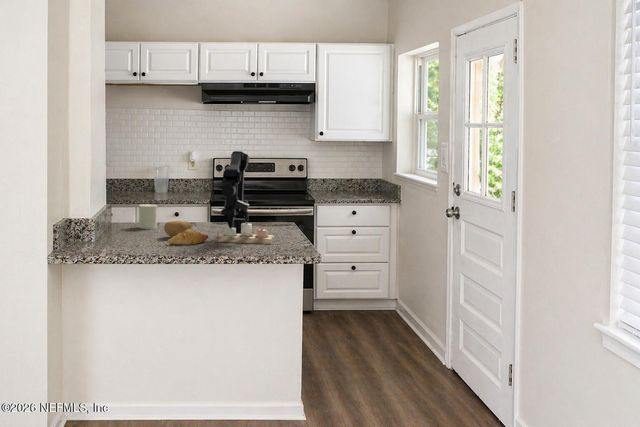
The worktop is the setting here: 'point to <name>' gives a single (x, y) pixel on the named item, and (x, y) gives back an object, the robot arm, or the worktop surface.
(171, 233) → the potato
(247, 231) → the key two
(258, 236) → the key three
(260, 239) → the board
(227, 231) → the key one
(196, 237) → the croissant
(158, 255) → the worktop surface
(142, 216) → the can
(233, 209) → the robot arm
